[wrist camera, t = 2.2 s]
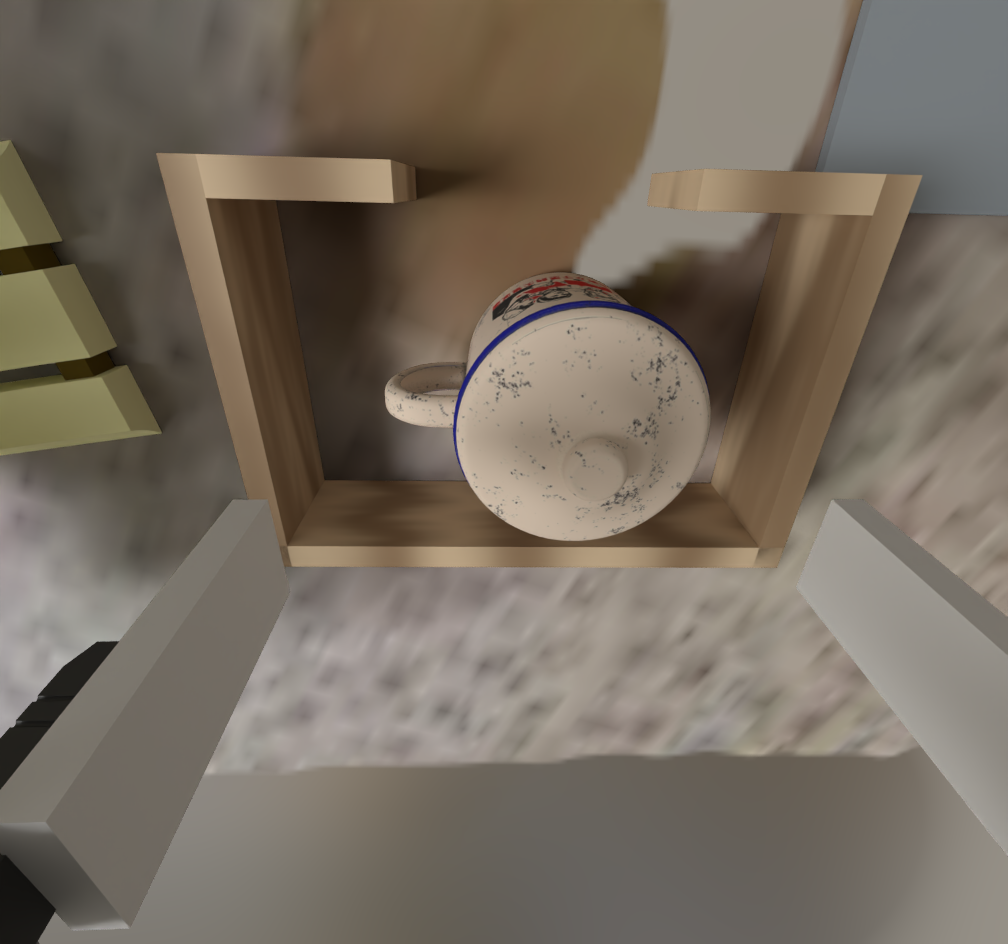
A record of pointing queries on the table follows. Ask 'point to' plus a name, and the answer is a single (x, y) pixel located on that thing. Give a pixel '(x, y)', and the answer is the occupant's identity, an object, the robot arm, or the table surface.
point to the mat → (927, 102)
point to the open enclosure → (453, 504)
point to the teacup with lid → (567, 409)
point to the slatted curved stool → (54, 336)
